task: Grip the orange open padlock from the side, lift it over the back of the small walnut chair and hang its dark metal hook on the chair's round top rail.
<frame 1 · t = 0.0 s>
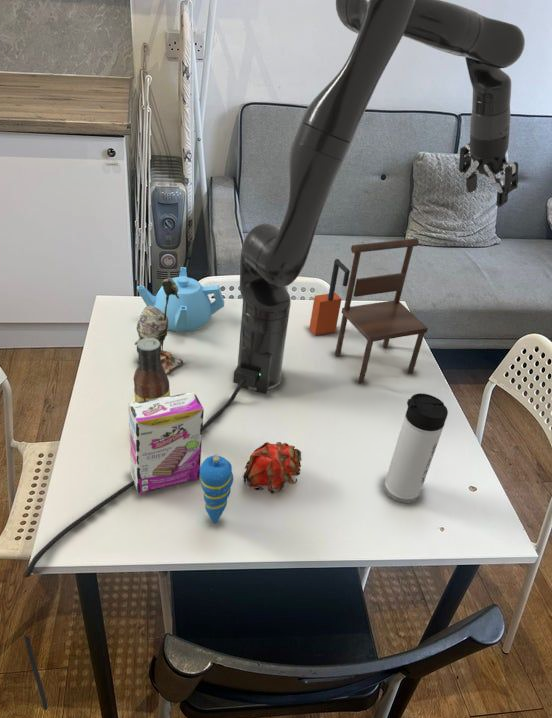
hand: (486, 197, 141), 31 cm above the table, tool tilted 20°, fingers open, 8 cm apart
candy bar box: (166, 479, 110), on the table
orange open padlock: (322, 330, 152), on the table
travel mug: (400, 491, 112), on the table
ornament: (213, 522, 103), on the table
dragon fruit: (269, 483, 111), on the table
chair: (373, 363, 142), on the table
teapot: (181, 319, 151), on the table
sauce bottle: (153, 433, 119), on the table
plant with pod: (156, 362, 137), on the table
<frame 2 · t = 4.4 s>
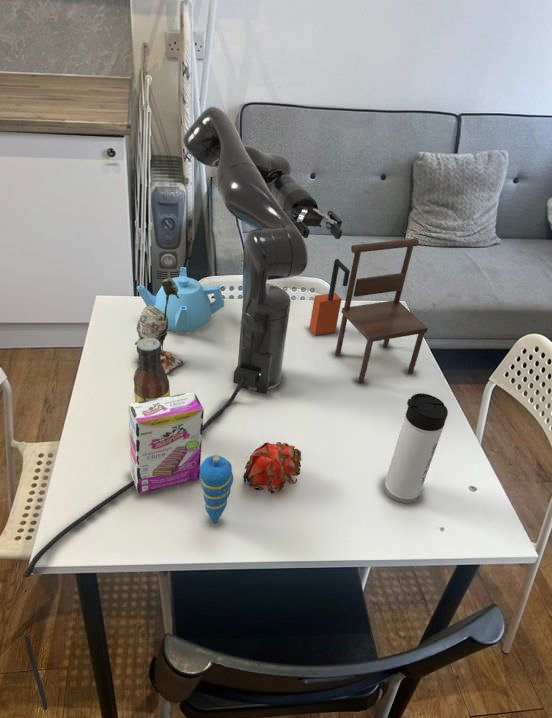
hand: (323, 235, 147), 20 cm above the table, tool horizontal, fingers open, 8 cm apart
nothing on the table moved.
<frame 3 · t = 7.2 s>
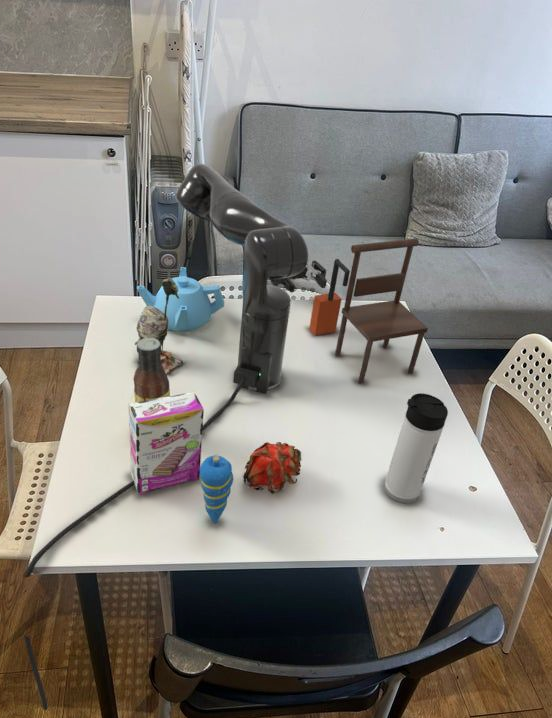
hand: (308, 287, 154), 7 cm above the table, tool horizontal, fingers open, 8 cm apart
nothing on the table moved.
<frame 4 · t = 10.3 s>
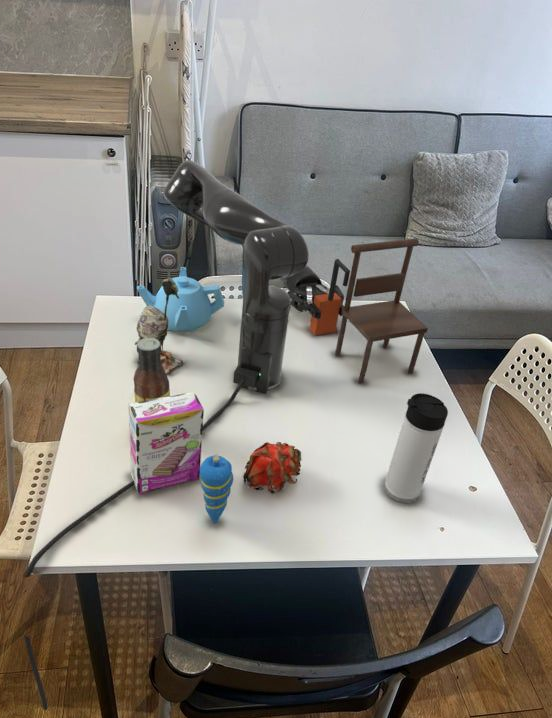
hand: (331, 314, 146), 6 cm above the table, tool horizontal, fingers closed on orange open padlock, 5 cm apart
orange open padlock: (322, 330, 152), on the table, touching gripper
everything else where it was.
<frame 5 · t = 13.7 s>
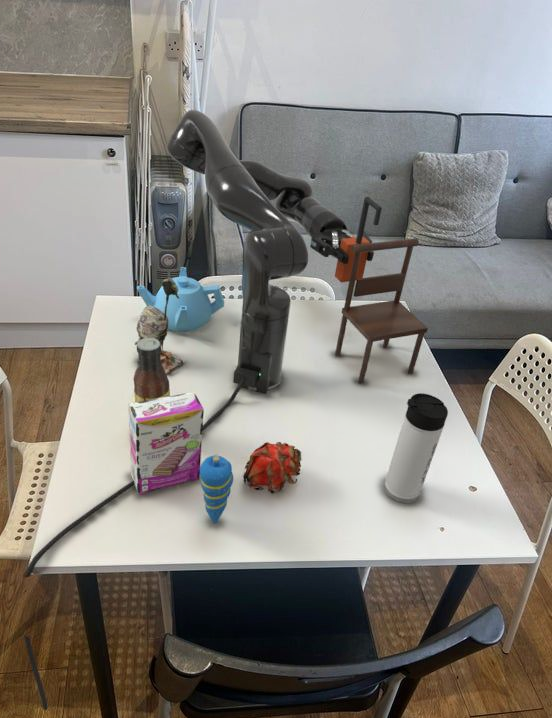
hand: (359, 258, 137), 20 cm above the table, tool horizontal, fingers closed on orange open padlock, 5 cm apart
orange open padlock: (348, 277, 143), point 14 cm above the table, touching gripper
everything else where it was.
when the fingers open (15 cm above the table, at t = 17.4 s): orange open padlock moves 1 cm, resting on chair.
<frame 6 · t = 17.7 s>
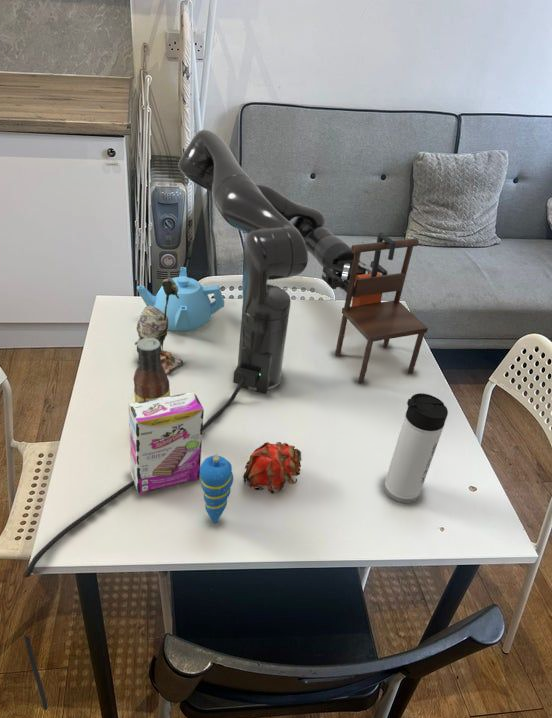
hand: (371, 290, 138), 15 cm above the table, tool horizontal, fingers open, 7 cm apart
orange open padlock: (364, 314, 142), point 9 cm above the table, touching chair
everything else where it was.
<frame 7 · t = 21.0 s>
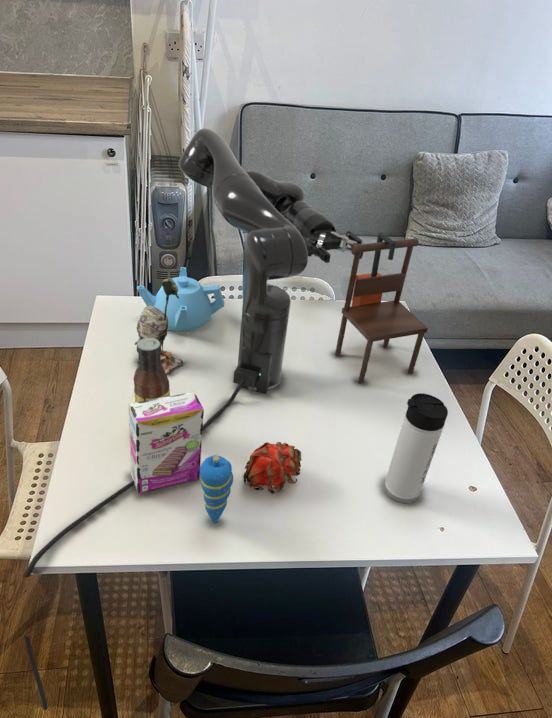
hand: (344, 257, 146), 17 cm above the table, tool horizontal, fingers open, 8 cm apart
nothing on the table moved.
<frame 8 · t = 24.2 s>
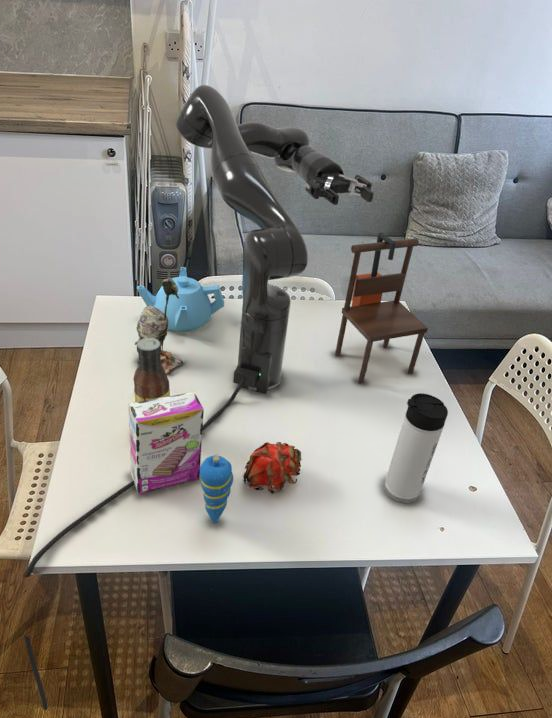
hand: (354, 199, 138), 30 cm above the table, tool horizontal, fingers open, 8 cm apart
nothing on the table moved.
at the end: orange open padlock inside the target area on the chair (1.2 cm from its centre), point 8.6 cm above the chair's base; orange open padlock touching chair; the gripper is holding nothing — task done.
